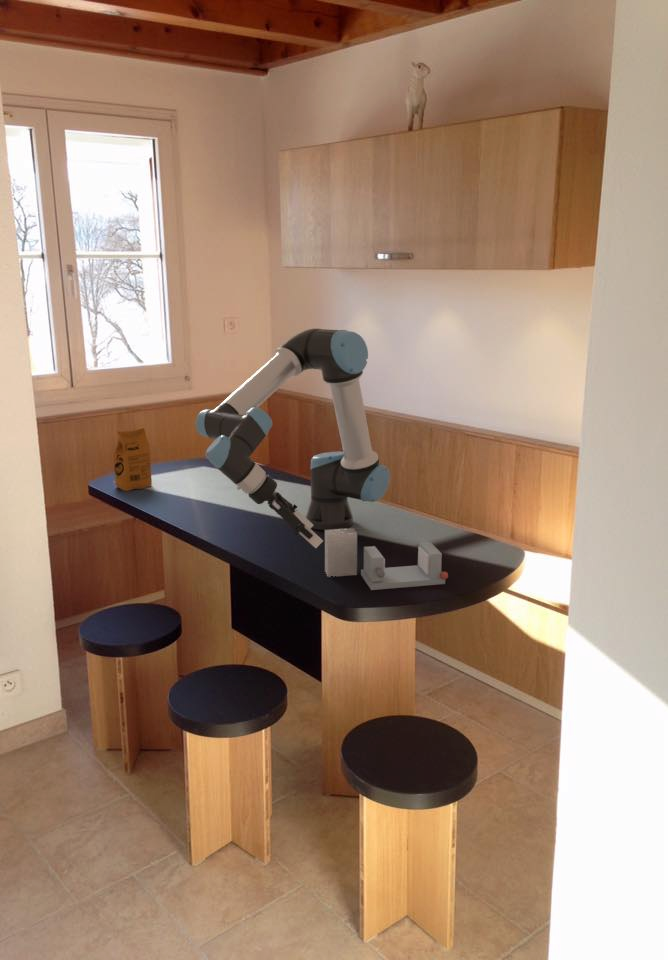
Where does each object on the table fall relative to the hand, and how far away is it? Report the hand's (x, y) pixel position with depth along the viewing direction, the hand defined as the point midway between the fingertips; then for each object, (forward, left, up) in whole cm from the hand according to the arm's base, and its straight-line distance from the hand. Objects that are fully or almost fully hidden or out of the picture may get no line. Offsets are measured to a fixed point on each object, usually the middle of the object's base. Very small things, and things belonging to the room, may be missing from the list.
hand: (314, 536), depth 227 cm
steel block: (-1, +7, -11) cm, 14 cm away
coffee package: (-105, -49, -12) cm, 116 cm away
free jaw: (+9, +15, -9) cm, 20 cm away
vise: (+7, +22, -11) cm, 26 cm away
